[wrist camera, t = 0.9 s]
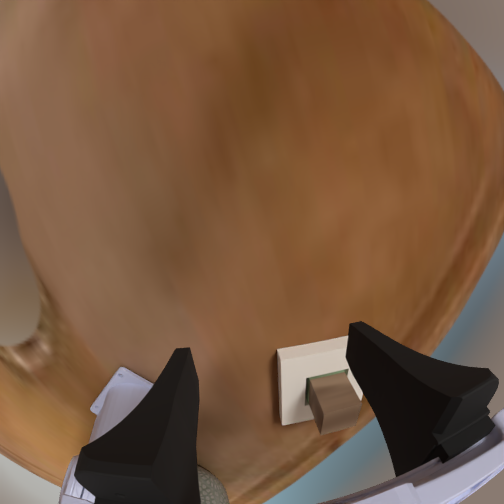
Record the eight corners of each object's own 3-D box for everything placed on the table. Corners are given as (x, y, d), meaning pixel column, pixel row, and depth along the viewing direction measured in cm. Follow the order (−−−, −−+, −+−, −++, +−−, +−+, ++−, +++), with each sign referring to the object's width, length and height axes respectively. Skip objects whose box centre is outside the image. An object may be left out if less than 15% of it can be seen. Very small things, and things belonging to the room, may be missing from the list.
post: (336, 385, 28) (356, 425, 22) (304, 392, 28) (319, 435, 22) (339, 361, 27) (362, 403, 21) (305, 369, 26) (323, 413, 21)
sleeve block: (354, 397, 29) (360, 408, 28) (279, 414, 28) (282, 426, 27) (367, 331, 26) (375, 341, 24) (277, 349, 25) (281, 361, 23)
